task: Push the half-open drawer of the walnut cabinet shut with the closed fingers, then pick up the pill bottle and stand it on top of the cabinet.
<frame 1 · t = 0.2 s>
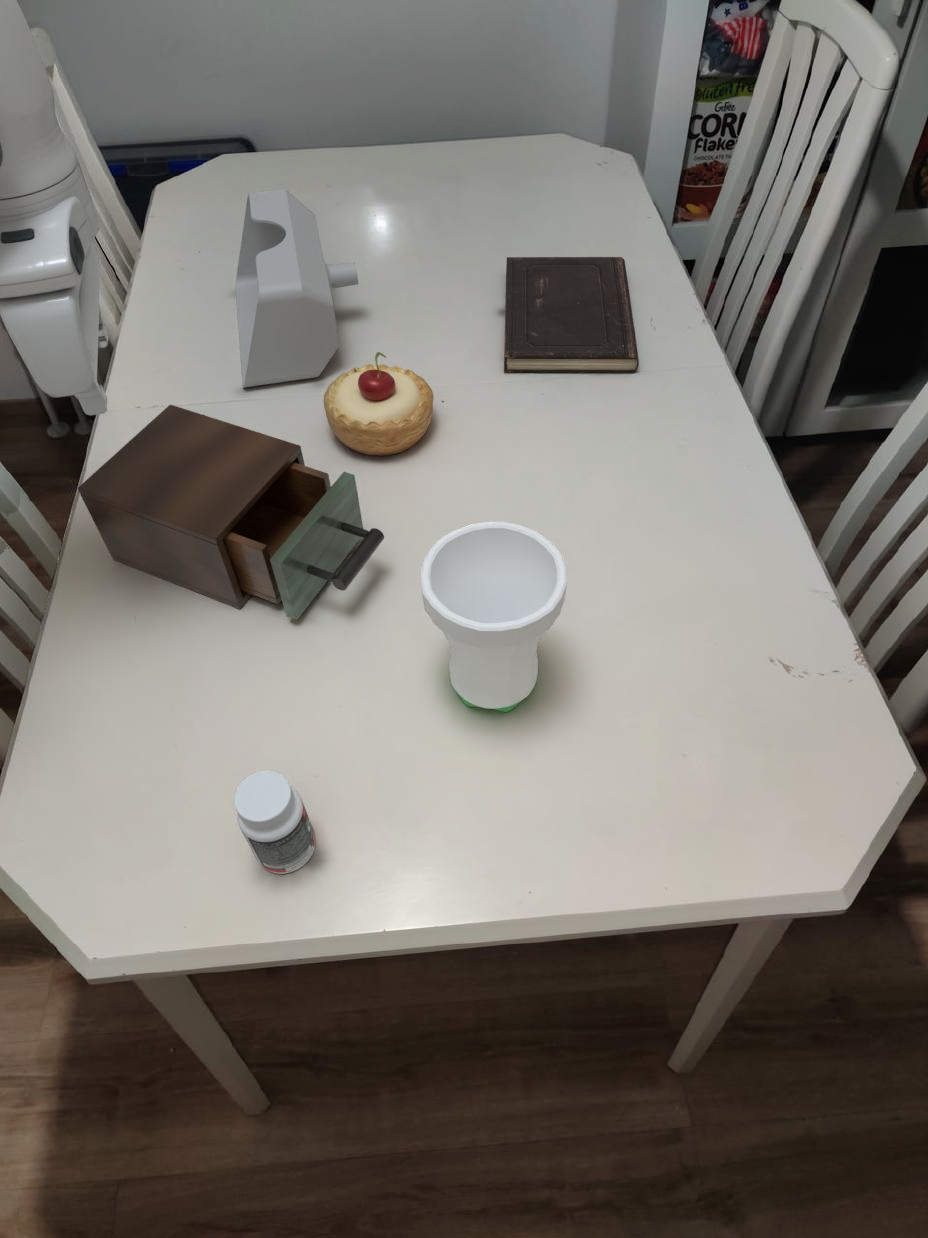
hand: (98, 375, 73), 20 cm above the table, tool pointing down, fingers open, 8 cm apart
drawer: (280, 530, 82), point 5 cm above the table, slide at 5.0 cm
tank: (301, 327, 112), on the table
hardcover book: (567, 321, 112), on the table
pill bottle: (286, 847, 67), on the table
cabinet: (216, 538, 88), on the table
pastry: (382, 431, 99), on the table
cup: (493, 681, 77), on the table
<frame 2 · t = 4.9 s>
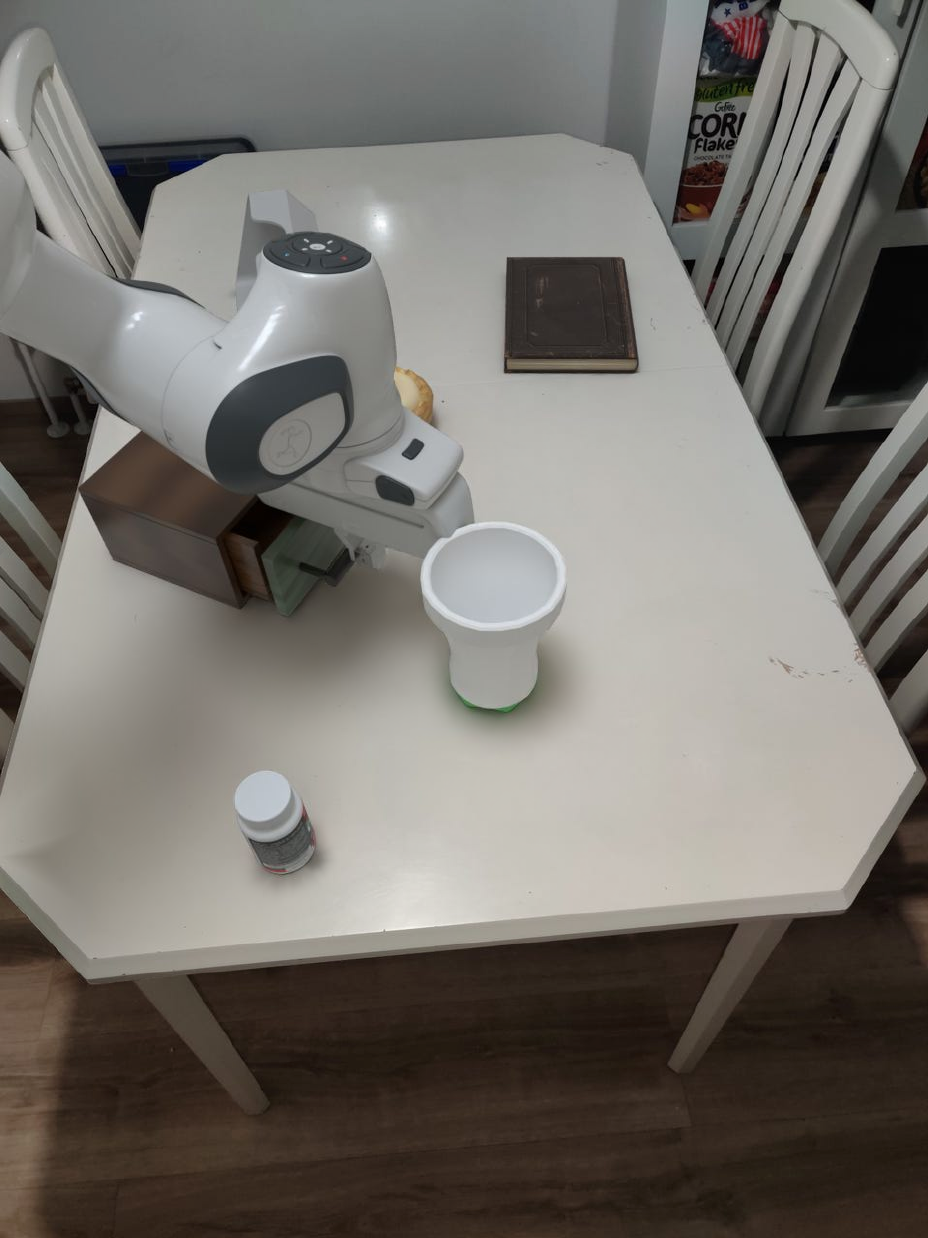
hand: (369, 560, 79), 5 cm above the table, tool pointing down, fingers closed
drawer: (272, 528, 82), point 5 cm above the table, slide at 4.1 cm, touching gripper
everything else where it was.
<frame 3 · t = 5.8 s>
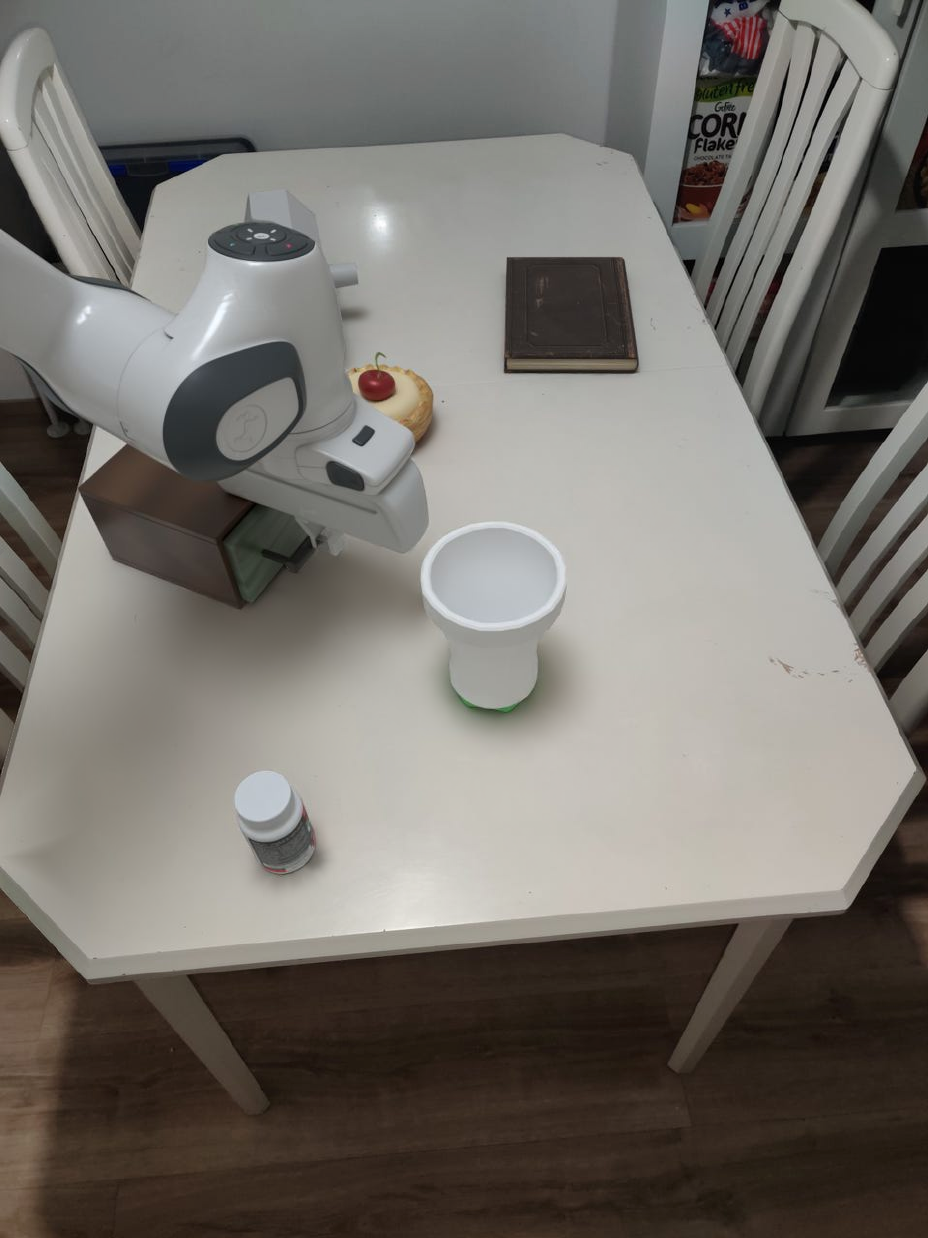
hand: (329, 547, 80), 5 cm above the table, tool pointing down, fingers closed
drawer: (236, 515, 84), point 5 cm above the table, slide at 0.0 cm, touching cabinet, gripper
everything else where it was.
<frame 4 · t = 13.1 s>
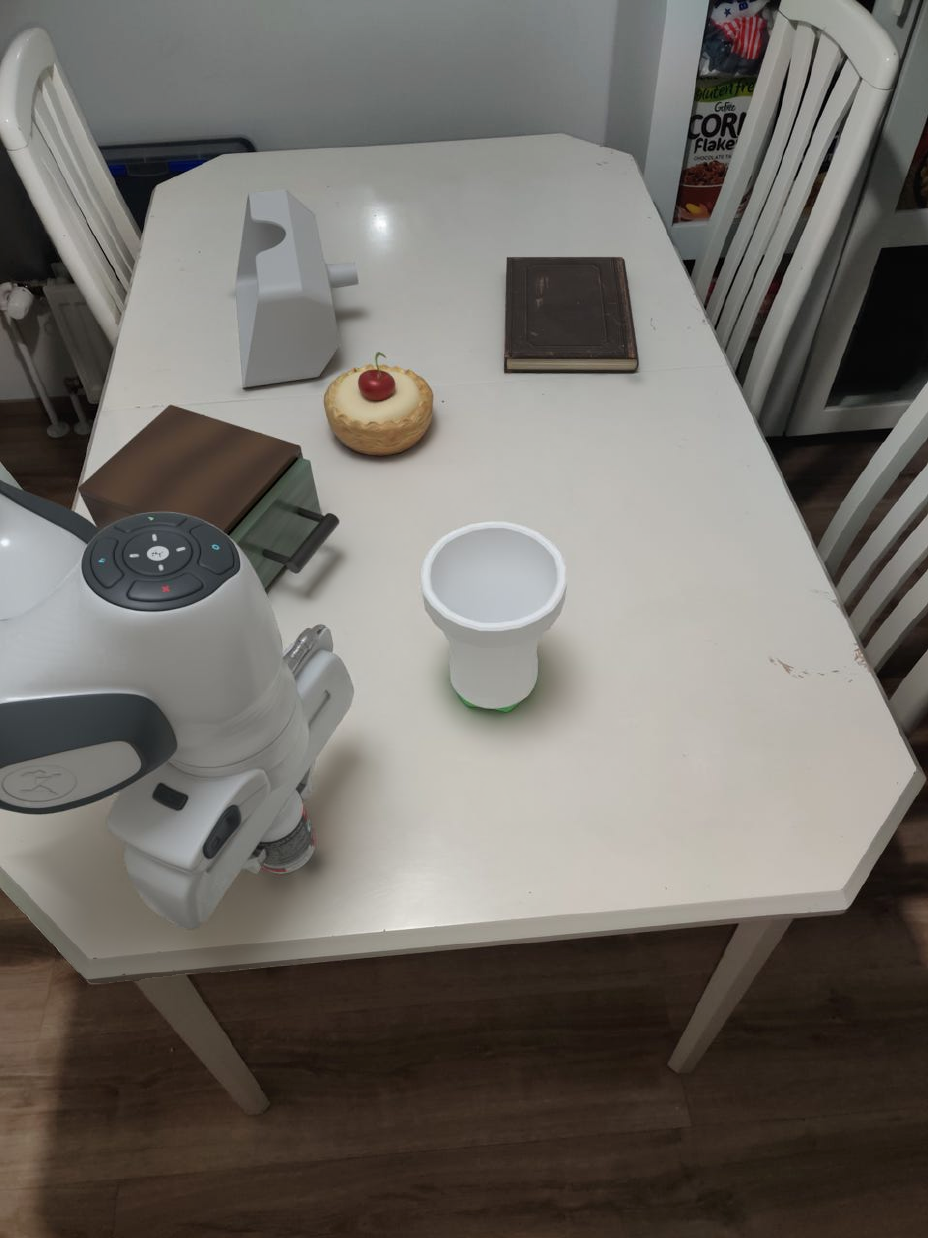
hand: (277, 827, 65), 3 cm above the table, tool pointing down, fingers closed on pill bottle, 5 cm apart
drawer: (237, 515, 84), point 5 cm above the table, slide at 0.1 cm
pill bottle: (286, 847, 67), on the table, touching gripper
everything else where it was.
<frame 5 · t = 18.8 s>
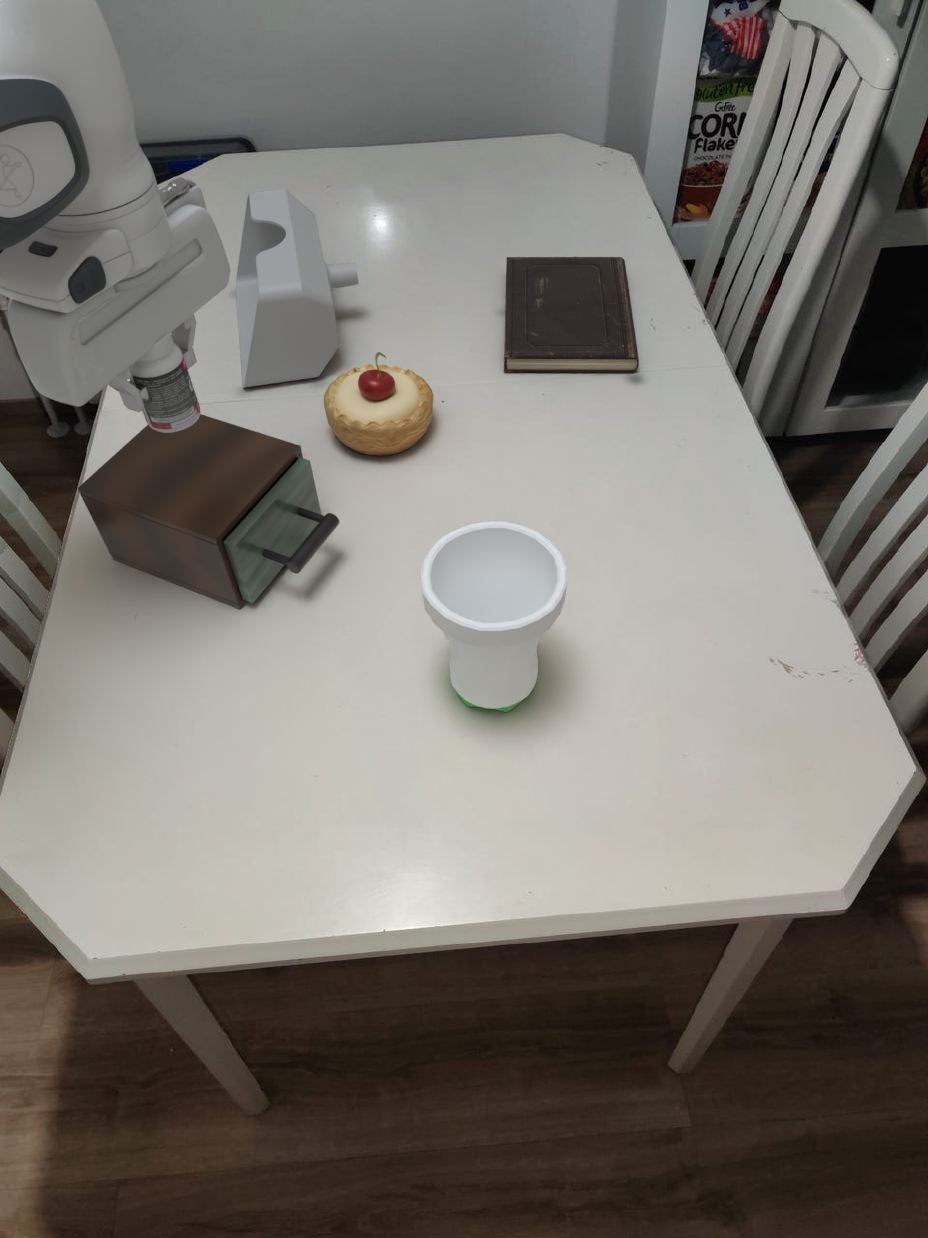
hand: (162, 385, 74), 19 cm above the table, tool pointing down, fingers closed on pill bottle, 5 cm apart
pill bottle: (175, 419, 77), point 15 cm above the table, touching gripper
everything else where it was.
when the fingers open (13 cm above the table, at t = 20.6 s): pill bottle stays where it is, resting on cabinet.
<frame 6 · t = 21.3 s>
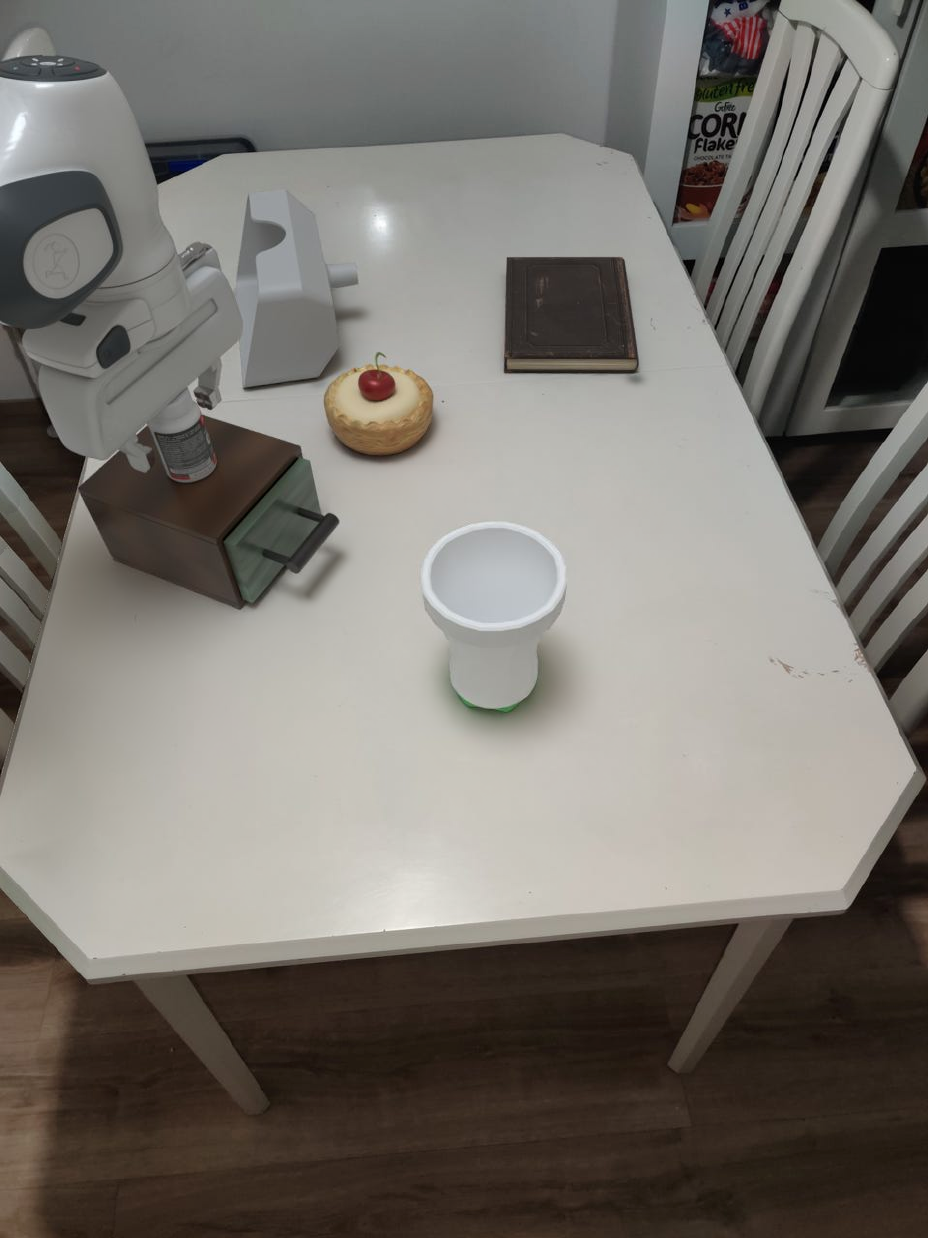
hand: (179, 434, 78), 13 cm above the table, tool pointing down, fingers open, 8 cm apart
pill bottle: (192, 468, 81), point 9 cm above the table, touching cabinet
everything else where it was.
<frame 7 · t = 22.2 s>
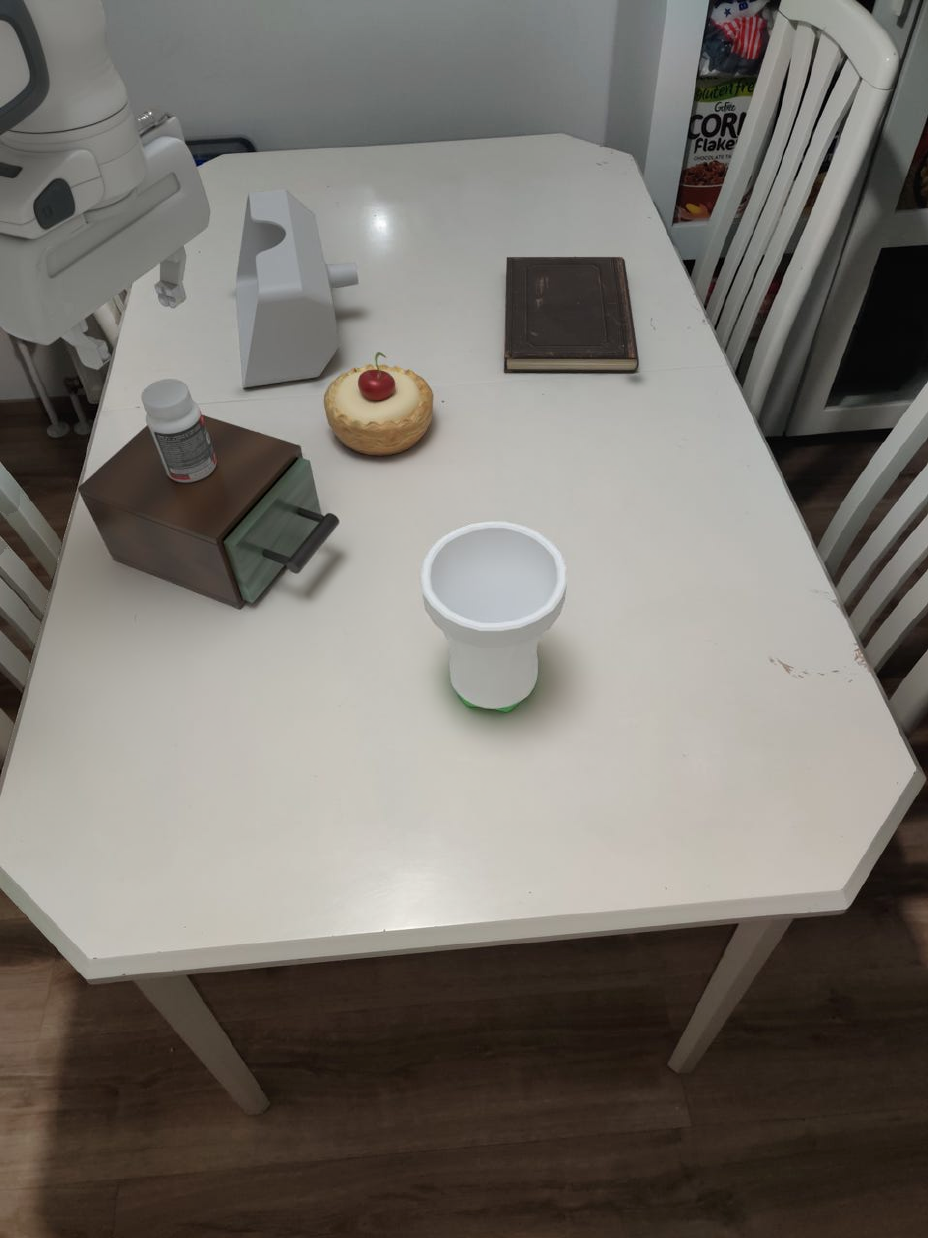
hand: (137, 332, 70), 24 cm above the table, tool pointing down, fingers open, 8 cm apart
nothing on the table moved.
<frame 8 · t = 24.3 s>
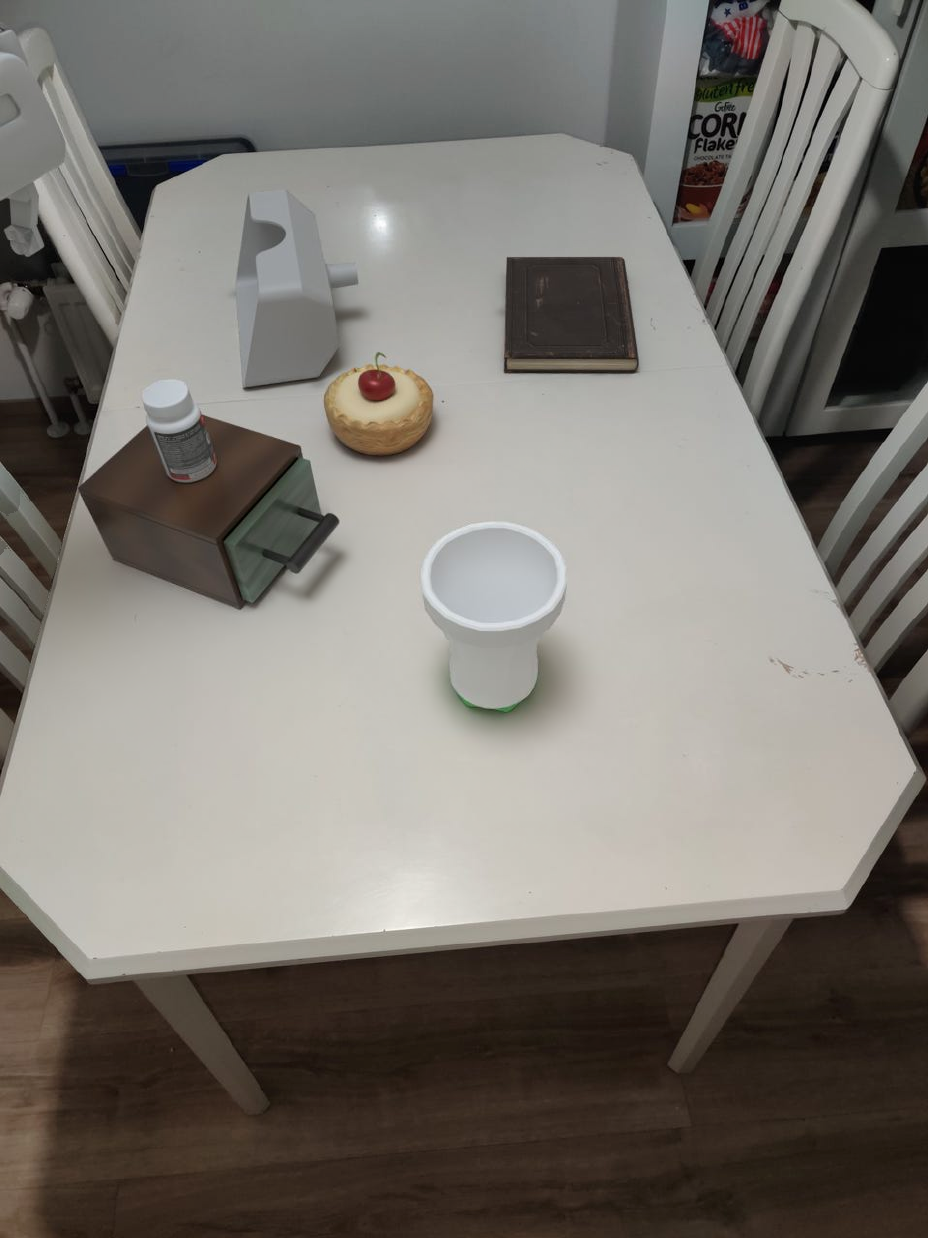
nothing on the table moved.
at the end: drawer slide at 0.1 cm; pill bottle inside the target area on the cabinet (0.2 cm from its centre), point 9.4 cm above the cabinet's base; pill bottle tilted 0° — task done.
